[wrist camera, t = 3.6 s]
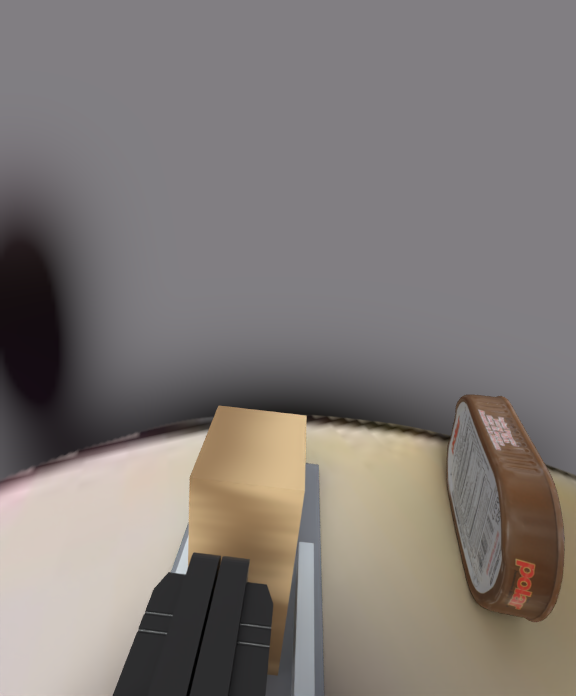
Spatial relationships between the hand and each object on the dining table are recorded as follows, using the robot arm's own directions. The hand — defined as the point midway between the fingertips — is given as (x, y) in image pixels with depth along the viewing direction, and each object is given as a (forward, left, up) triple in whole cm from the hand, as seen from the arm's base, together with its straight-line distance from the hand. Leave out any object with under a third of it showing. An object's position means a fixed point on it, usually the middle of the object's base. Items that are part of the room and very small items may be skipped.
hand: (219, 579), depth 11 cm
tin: (-14, -14, -11) cm, 23 cm away
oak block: (0, -6, -10) cm, 12 cm away
